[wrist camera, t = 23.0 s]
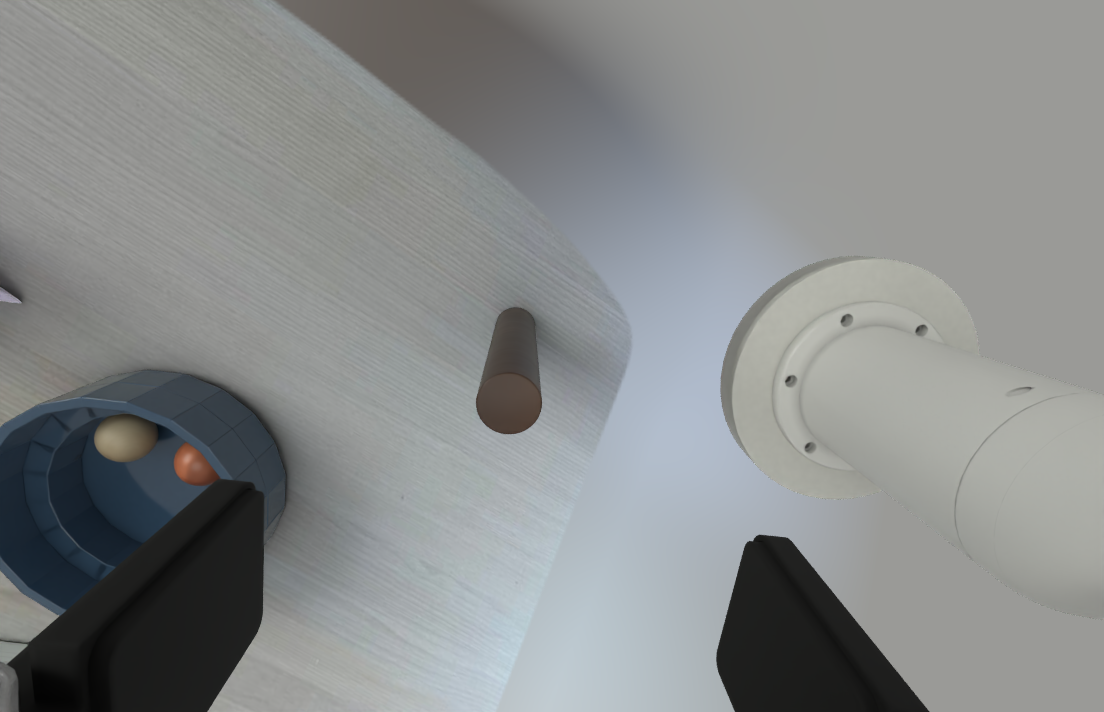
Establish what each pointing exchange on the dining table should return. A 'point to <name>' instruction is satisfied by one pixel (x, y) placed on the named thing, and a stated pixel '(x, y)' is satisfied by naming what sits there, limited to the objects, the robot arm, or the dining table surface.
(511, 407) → the stick
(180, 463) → the bead
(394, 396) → the dining table surface
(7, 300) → the water lily
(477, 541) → the dining table surface
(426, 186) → the dining table surface
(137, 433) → the bead
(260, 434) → the bowl
